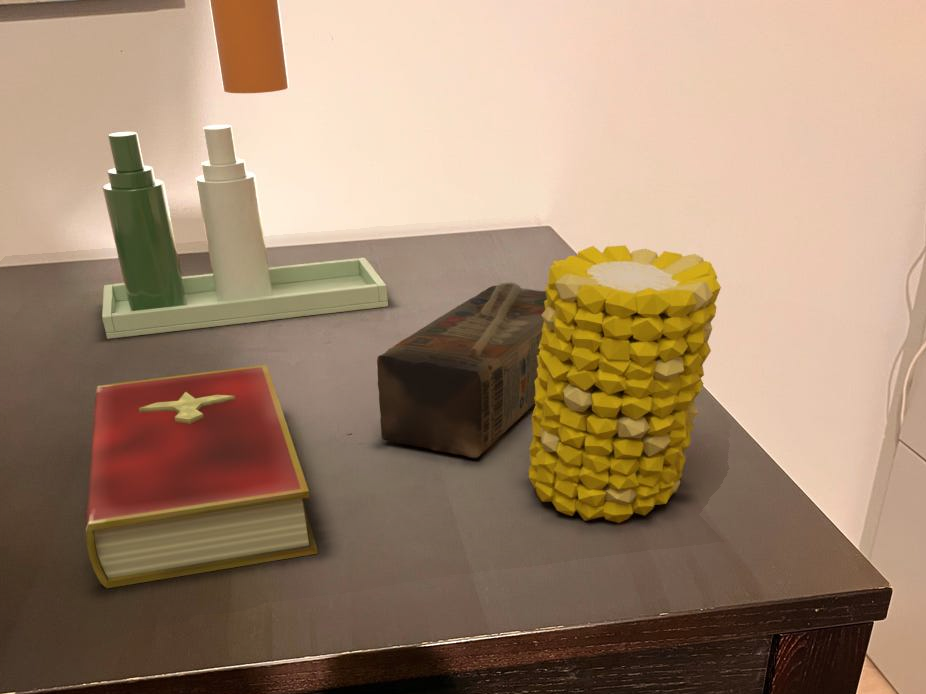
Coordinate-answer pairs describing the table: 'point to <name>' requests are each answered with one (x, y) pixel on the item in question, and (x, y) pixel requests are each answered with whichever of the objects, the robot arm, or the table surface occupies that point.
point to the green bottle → (142, 229)
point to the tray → (252, 299)
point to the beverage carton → (464, 373)
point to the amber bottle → (250, 45)
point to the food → (619, 378)
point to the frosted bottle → (232, 220)
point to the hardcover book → (193, 478)
